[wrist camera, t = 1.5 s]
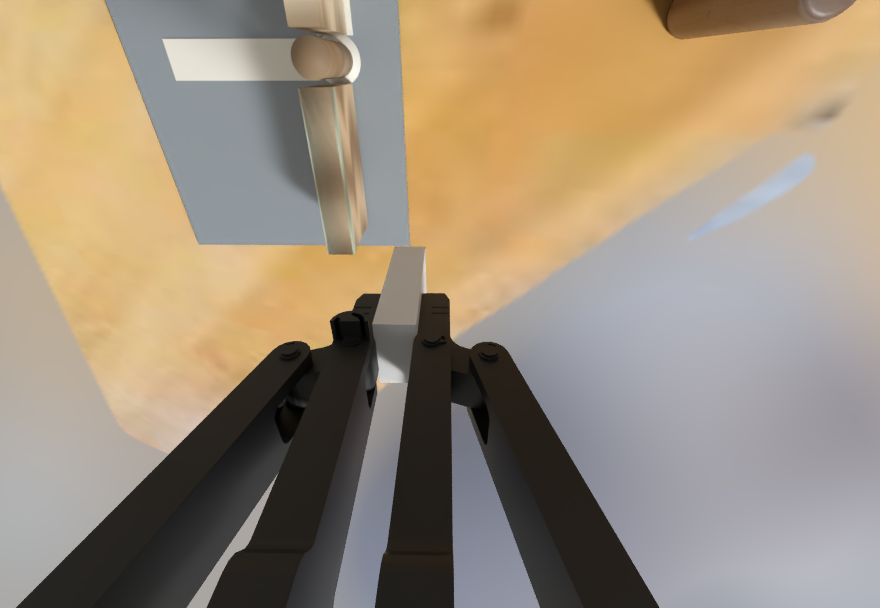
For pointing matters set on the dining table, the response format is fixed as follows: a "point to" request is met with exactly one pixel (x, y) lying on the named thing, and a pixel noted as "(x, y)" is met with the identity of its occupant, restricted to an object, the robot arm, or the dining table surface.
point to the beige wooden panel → (321, 12)
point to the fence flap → (335, 163)
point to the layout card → (263, 115)
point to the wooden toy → (747, 15)
